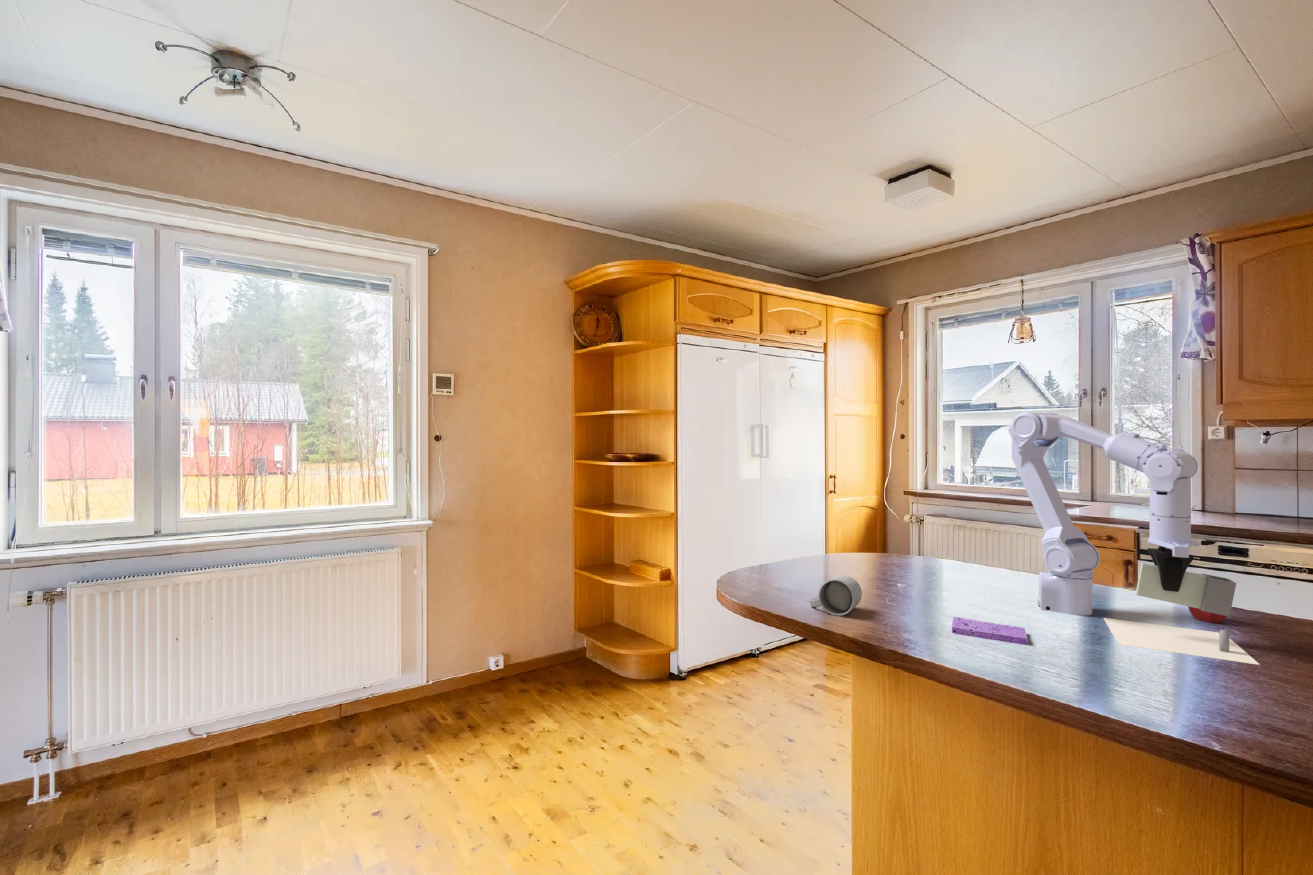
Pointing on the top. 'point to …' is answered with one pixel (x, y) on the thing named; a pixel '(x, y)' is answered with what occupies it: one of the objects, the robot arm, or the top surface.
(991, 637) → the sponges
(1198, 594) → the door leaf
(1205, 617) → the onion
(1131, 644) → the board
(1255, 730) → the top surface
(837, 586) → the ceramic mug
